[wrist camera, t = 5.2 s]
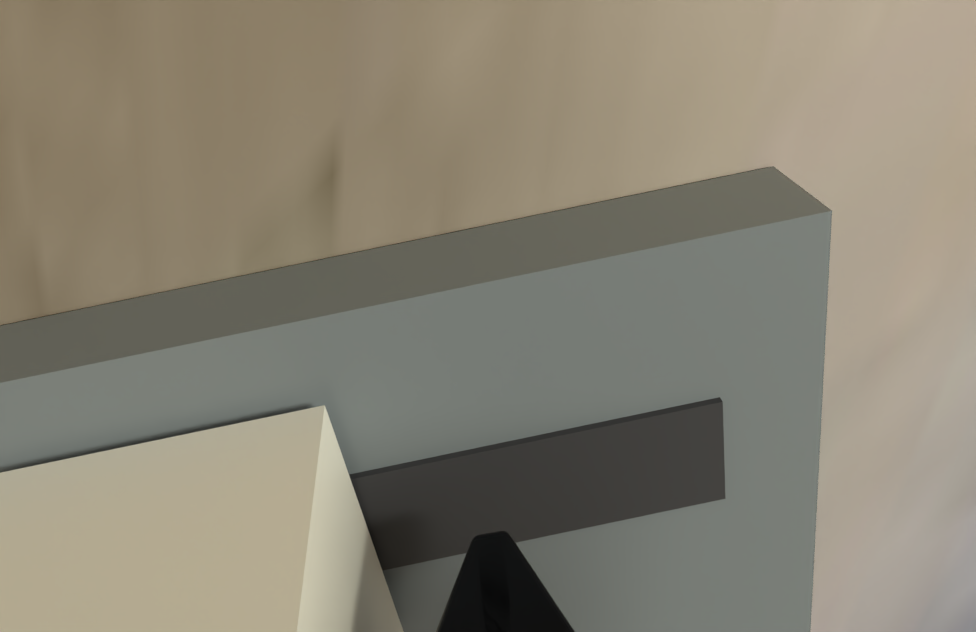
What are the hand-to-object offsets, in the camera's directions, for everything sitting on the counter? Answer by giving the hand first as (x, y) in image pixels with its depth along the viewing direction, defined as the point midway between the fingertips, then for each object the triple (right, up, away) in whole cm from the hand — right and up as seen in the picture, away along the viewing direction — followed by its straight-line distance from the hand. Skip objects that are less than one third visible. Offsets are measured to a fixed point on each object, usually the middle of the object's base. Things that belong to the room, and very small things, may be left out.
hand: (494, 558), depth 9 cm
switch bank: (0, -6, +6) cm, 8 cm away
